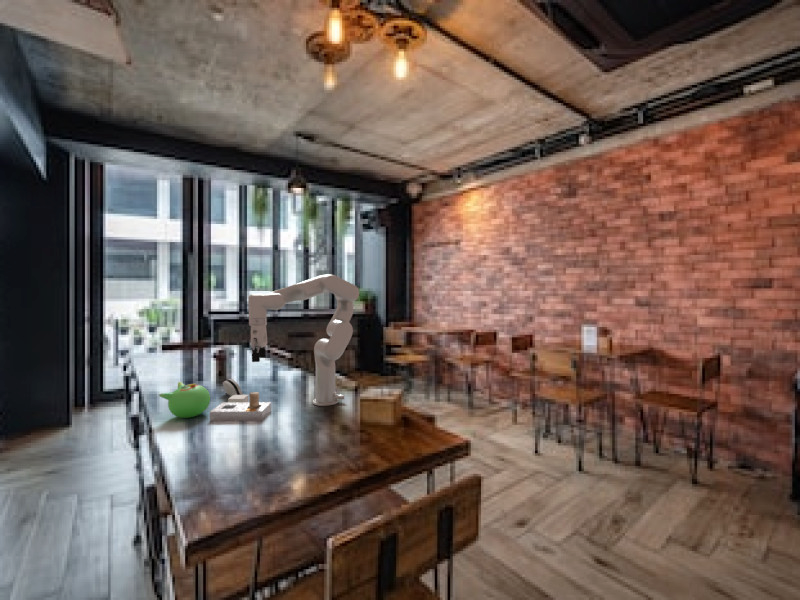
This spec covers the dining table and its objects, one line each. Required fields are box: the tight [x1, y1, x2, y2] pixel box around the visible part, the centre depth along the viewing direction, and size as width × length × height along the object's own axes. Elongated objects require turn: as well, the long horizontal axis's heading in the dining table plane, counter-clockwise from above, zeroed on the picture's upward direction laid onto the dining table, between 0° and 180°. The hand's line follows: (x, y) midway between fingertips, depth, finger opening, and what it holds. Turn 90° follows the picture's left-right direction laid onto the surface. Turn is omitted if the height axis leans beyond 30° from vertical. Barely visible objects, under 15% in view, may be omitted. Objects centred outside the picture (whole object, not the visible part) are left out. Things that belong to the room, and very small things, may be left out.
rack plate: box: [209, 401, 272, 422], centre depth 184 cm, size 22×14×4 cm, turn 92°
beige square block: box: [227, 394, 249, 403], centre depth 197 cm, size 7×7×5 cm
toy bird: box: [158, 381, 211, 419], centre depth 183 cm, size 18×17×15 cm
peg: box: [248, 391, 260, 409], centre depth 184 cm, size 4×4×10 cm
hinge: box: [222, 378, 246, 397], centre depth 217 cm, size 17×5×10 cm, turn 40°
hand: (259, 359), depth 187 cm, fingers open, 9 cm apart
